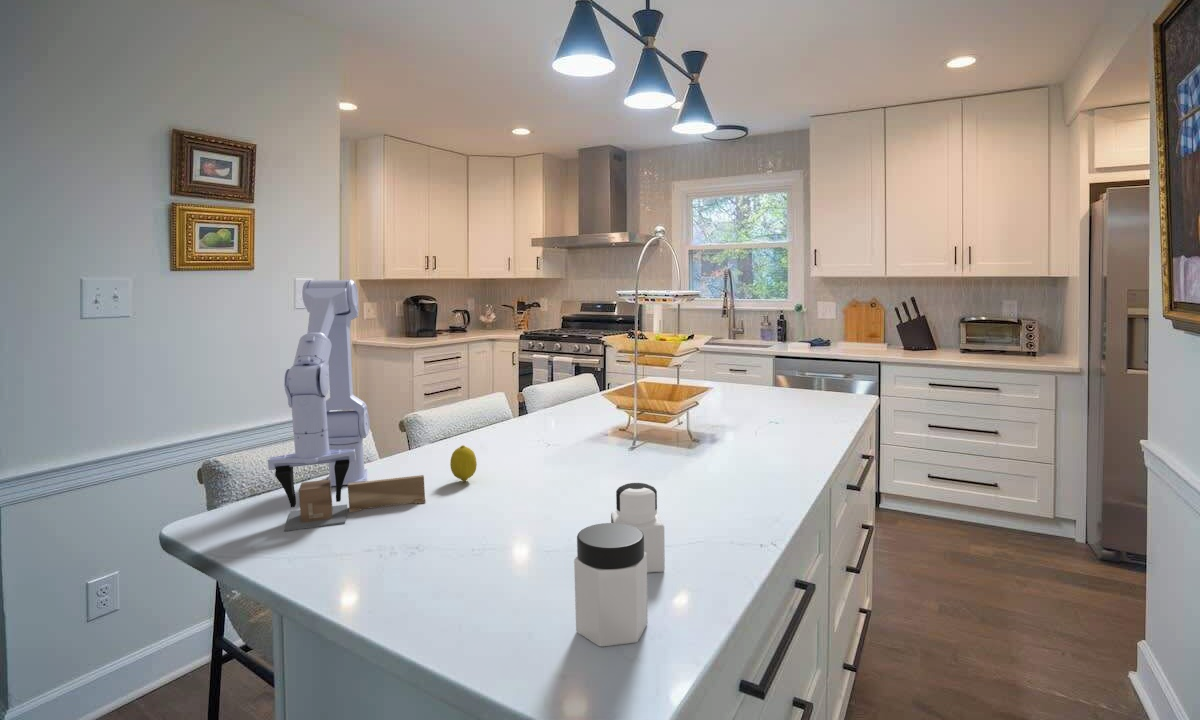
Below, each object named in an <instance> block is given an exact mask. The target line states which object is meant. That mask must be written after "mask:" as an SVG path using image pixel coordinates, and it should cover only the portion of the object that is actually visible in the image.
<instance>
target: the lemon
mask: <svg viewBox="0 0 1200 720" xmlns="http://www.w3.org/2000/svg"><path fill="white" fill-rule="evenodd" d="M449 463H450V464H449V465H450V470H451V472H452V474H453V476H454V477H455V478H457V479H458V480H461V481H462V482H463V483H464V481H465V482H467V480H468V479H470V478H471V477H472V476H474V474H475V473H476V470H477V467H478V466H477V465H478V464H477V463H478V462H477V458H476V455H475V452H474V451H473V449H471V448H469V447H467V446H465V445H460V446H459V447H457V448H456V449H455V450H454V451H453V452H452V454H451V457H450V462H449Z"/></svg>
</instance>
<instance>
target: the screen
mask: <svg viewBox="0 0 1200 720" xmlns="http://www.w3.org/2000/svg"><path fill="white" fill-rule="evenodd" d="M425 492H426V489H425V476H424V474H419V475H413V476H410V475H409V476H402V477H395V478H394V477H393V478H386V479H378V480H377V479H376V480H367V481H365V482H357V483H348V485H347V496H348V510H349V512H348V513H353V512H361V510H365V509H373V508H374V507H375V508H381V507H382V506H383V507H391V506H399V505H405V504H412V503H414V502H415V503H414V504H415V505H417V503H419V504H424V502H426V495H425Z"/></svg>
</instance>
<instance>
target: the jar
mask: <svg viewBox="0 0 1200 720" xmlns="http://www.w3.org/2000/svg"><path fill="white" fill-rule="evenodd" d="M576 543H577V544H576V549H577V554H576V557H575V558H574V560H573V563H574V598H575V599H574V601H575V604H574V605H575V631H576V633H577V634H579V635H580V636H582V637H583V638H586V639H587V640H588V639H589V640H588V641H590V642H592V643H593V644H595V645H597V646H598V647H600V648H602V647H603V648H604V647H610V646H619V645H626V644H635V643H638V641H639V640H640V638H641V637H642V634H643V633H644V631H645V628H646V627H647V625H648V617H649V615H648V573H647V553H646V552H645V551H644V534H643V533H642V531H641V530H639V529H638V528H636V527H634V526H631V525H627V524H621V523H611V522H605V523H596V524H592V525H589V526H586V527H585V528H582V529H581V530H580V531H578V533H577V536H576Z"/></svg>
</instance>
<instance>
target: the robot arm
mask: <svg viewBox="0 0 1200 720" xmlns="http://www.w3.org/2000/svg"><path fill="white" fill-rule="evenodd" d="M301 290H302V291H301V293H302V302H303V305H304V307H305V308H306V311H307V313H309V317H308V324H307V331H306V332H307V333H305V334H303V335H302V336H301V337H300V338H299V339H298V345H297V348H296V353H295V357H294V361H293V364H292V366H291V367H290V368H287V369H286V370H285V373H284V377H283V378H284V381H283V385H284V392H285V394H286V396H287V403H288V407H289V408H291V418H292V428H293V429H292V430H293V431H292V432H293V442H294V453H289V454H284V455H278V456H270V457H268V460H267V463H268V464H267V466H268V471H273V470H275V473H274V476H275V478H276V479H277V480H278V482H279V483H280V485H281V487H282V488H283V490H284V492H285V494H286V496H287V499H288V502H289V506H290V508H295V507H296V504H297V497H296V491H295V486H294V485H295V483H294V481H295V479H294V478H295V477H294V467H305V466H314V465H324V464H328V471H329V472H328V473H329V474H328V478H327V480H329V479H331V487H335V501H336V503H337V502H338V503H339V502H341V499H342V488H343V486H346V485H347V486H348V483H357V482H365V481H368V470H367V469H365V458H364V442H363V440H364V439H366V438H367V437H368V436H369V433H370V415H369V413H368V412H369V411H368V405H367V404H366V402H365V401H363V400H362V399H360V398H359V397H357V396H356V395H354V387H353V369H352V345H351V323H352V320H355V319H357V318H358V317H359V312H360V311H359V309H360V308H359V292H358V287H357V283H356V282H355V281H354V280H353V279H336V280H335V279H334V280H333V279H331V280H311V279H307V280H306V281H305V282H304V284H303V285H302V289H301ZM328 392H329V398H328V399H326V396H327V394H328Z"/></svg>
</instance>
